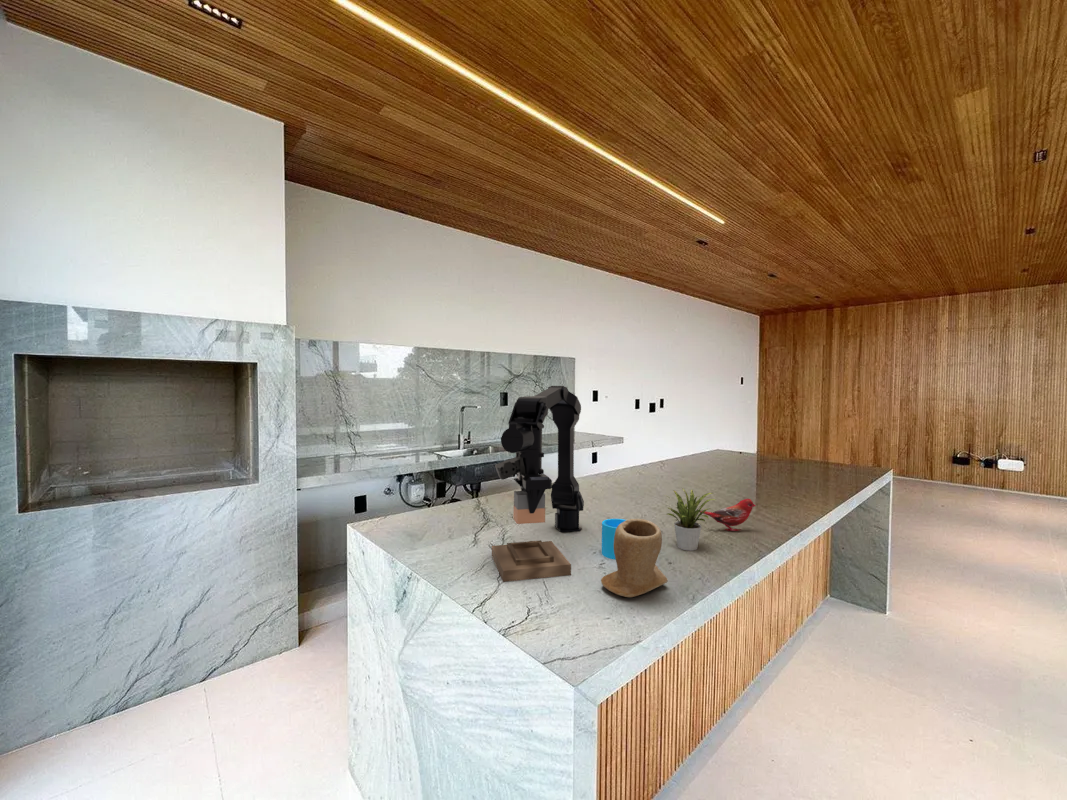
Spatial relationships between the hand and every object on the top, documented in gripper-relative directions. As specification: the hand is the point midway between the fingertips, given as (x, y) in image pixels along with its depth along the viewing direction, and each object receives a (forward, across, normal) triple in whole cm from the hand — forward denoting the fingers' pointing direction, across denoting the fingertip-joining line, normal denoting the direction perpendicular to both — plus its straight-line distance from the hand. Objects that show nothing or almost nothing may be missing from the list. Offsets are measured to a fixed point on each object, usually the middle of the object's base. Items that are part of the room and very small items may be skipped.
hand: (529, 510), depth 115 cm
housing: (+2, 0, 0) cm, 2 cm away
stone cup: (+13, +20, +20) cm, 31 cm away
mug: (+13, 0, +26) cm, 29 cm away
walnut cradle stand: (+13, +2, 0) cm, 13 cm away
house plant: (+13, 0, +46) cm, 47 cm away
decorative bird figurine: (+12, -10, +64) cm, 66 cm away
